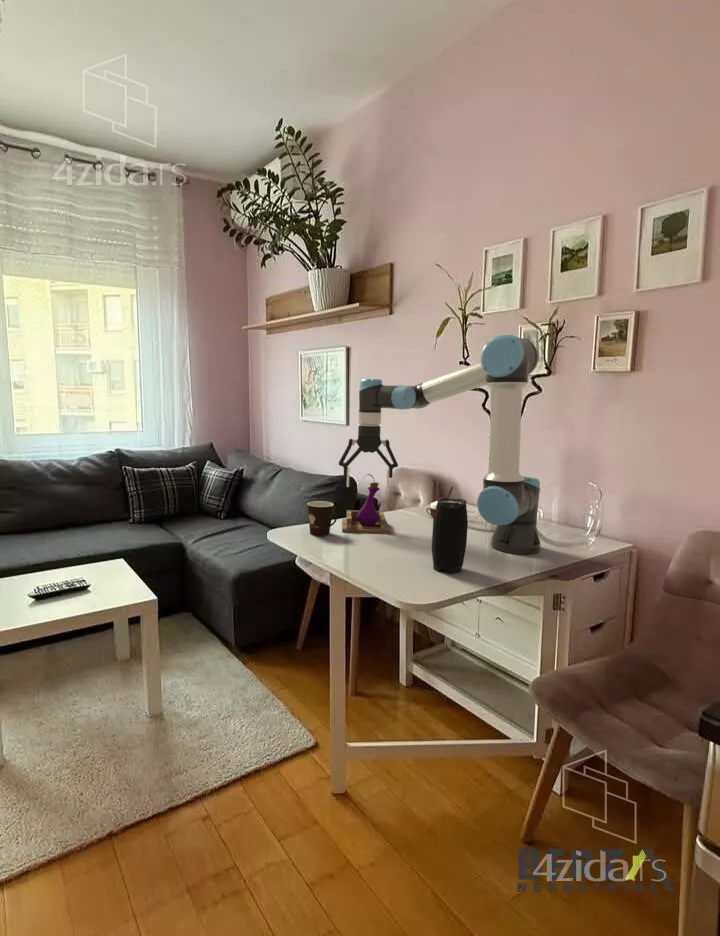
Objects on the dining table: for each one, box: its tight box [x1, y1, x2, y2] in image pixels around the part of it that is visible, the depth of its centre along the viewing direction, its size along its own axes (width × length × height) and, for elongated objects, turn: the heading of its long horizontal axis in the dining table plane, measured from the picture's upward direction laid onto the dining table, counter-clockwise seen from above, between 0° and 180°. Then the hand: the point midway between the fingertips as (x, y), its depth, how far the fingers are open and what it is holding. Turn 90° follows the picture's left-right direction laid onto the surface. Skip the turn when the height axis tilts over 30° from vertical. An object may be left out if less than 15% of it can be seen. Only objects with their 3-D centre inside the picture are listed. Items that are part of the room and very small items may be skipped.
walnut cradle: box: [341, 509, 391, 535], centre depth 196 cm, size 14×16×4 cm
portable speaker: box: [431, 496, 469, 574], centre depth 154 cm, size 9×9×20 cm
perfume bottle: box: [357, 473, 380, 527], centre depth 195 cm, size 8×8×18 cm
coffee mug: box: [307, 500, 338, 537], centre depth 184 cm, size 12×9×10 cm
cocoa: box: [425, 486, 454, 518], centre depth 215 cm, size 10×6×12 cm, turn 68°
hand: (367, 486), depth 194 cm, fingers open, 13 cm apart
